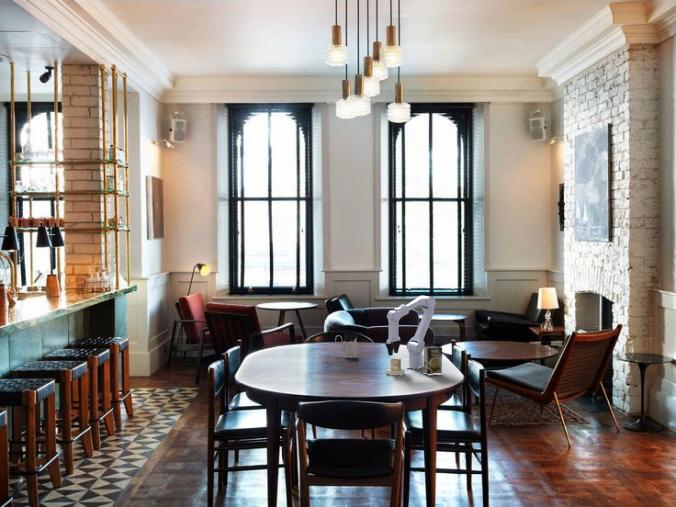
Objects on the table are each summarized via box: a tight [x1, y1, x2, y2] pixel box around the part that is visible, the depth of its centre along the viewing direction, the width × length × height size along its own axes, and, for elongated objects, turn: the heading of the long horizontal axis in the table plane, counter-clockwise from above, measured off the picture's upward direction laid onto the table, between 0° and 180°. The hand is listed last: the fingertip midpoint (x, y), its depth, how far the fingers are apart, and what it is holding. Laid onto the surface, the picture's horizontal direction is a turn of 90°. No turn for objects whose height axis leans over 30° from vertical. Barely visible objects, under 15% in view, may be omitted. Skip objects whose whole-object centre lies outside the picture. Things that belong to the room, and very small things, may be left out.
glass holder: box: [334, 332, 358, 359], centre depth 434 cm, size 9×14×15 cm, turn 89°
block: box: [390, 358, 402, 371], centre depth 385 cm, size 4×4×6 cm
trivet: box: [385, 367, 405, 376], centre depth 385 cm, size 8×8×3 cm
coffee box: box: [422, 345, 443, 374], centre depth 384 cm, size 9×6×16 cm
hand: (393, 354), depth 393 cm, fingers open, 7 cm apart
